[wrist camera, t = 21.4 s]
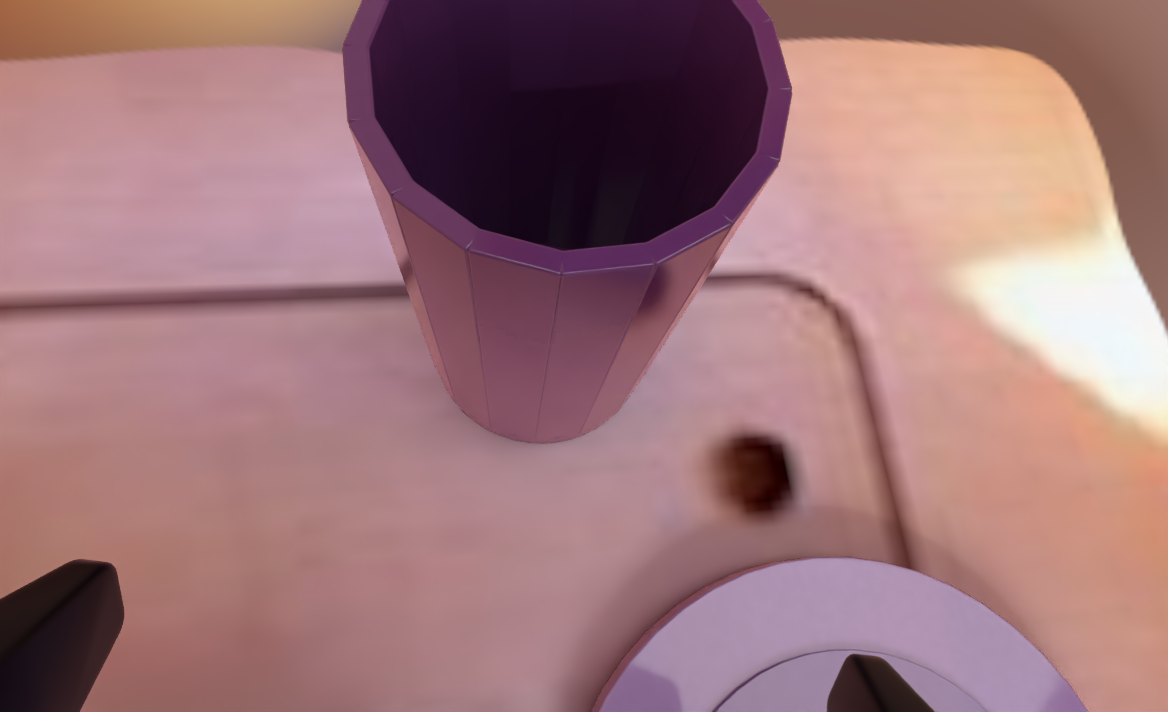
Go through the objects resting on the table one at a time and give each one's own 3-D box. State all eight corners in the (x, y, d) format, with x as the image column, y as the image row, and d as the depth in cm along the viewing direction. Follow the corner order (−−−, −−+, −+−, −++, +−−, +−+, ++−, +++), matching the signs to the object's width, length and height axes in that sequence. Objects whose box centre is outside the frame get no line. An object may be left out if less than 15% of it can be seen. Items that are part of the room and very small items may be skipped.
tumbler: (500, 484, 22) (485, 357, 10) (396, 301, 23) (265, -15, 11) (683, 377, 23) (875, 149, 11) (576, 212, 25) (639, -153, 13)
